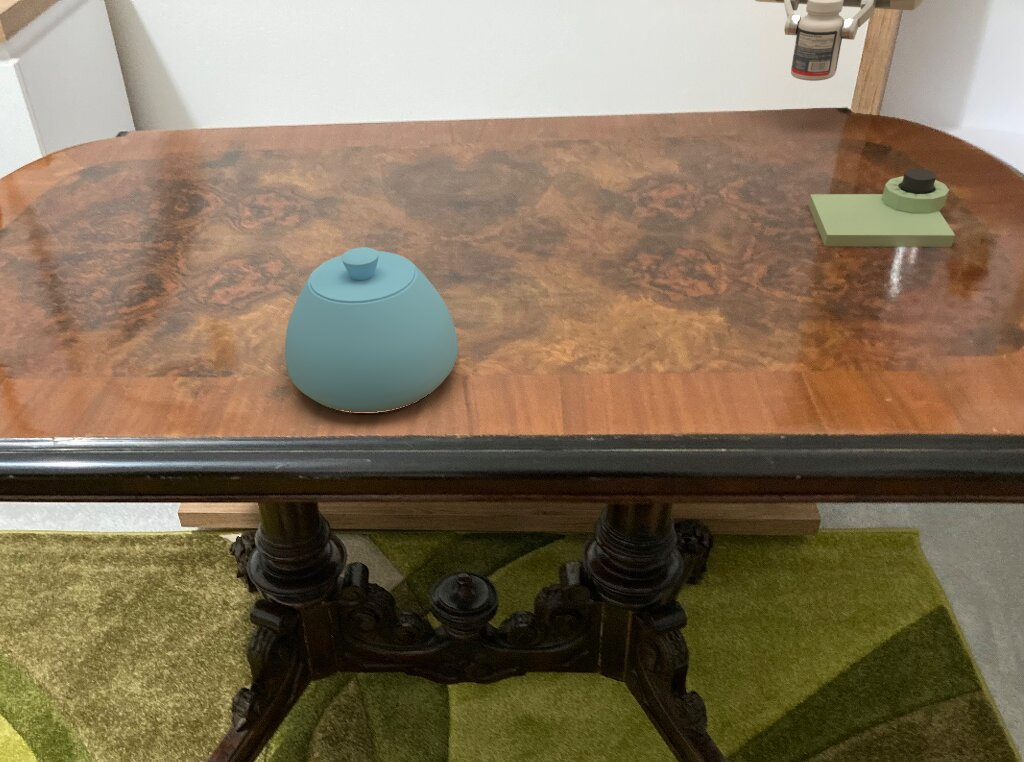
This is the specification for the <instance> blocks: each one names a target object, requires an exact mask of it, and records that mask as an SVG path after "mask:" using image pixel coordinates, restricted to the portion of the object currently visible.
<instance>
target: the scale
mask: <svg viewBox="0 0 1024 762" xmlns="http://www.w3.org/2000/svg"><path fill="white" fill-rule="evenodd" d="M903 177H904V175H902V176H898V177H893V178H890V179H889V180H888V181H887V182H886V183H885V184H884V188H883V192H882V193H829V194H828V193H827V194H826V193H825V194H824V193H821V194H819V193H815V194H812V193H811V194H809V198H808V199H809V200H808V205H807V207H808V209H809V211H810V213H811V216H812V218H813V219H812V220H813V221H814V224H815V226H816V228H817V231H818V233H819V236H820V239H821V240H822V243H823V247H866V248H867V247H869V248H870V247H874V248H876V247H877V248H878V247H879V248H881V247H882V248H884V247H885V248H886V247H889V248H892V247H894V248H897V247H898V248H905V247H906V248H953V243H954V241H955V237H956V233H954V230H952V228H951V227H950V225H949V223H948V222H947V220H946V218H944V216H943V214H942V213H941V210H942V209H943V207H944V206H945V205H946V203H947V199H948V196H949V192H950V189H949V188H948V186H947V185H946V184H945V183H943V182H941V181H940V180H937V179H936V180H935V183H934V187H933V190H932V192H931V193H929V194H913V193H908V192H905V191H903V190H901V185H902V181H903Z"/></svg>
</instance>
